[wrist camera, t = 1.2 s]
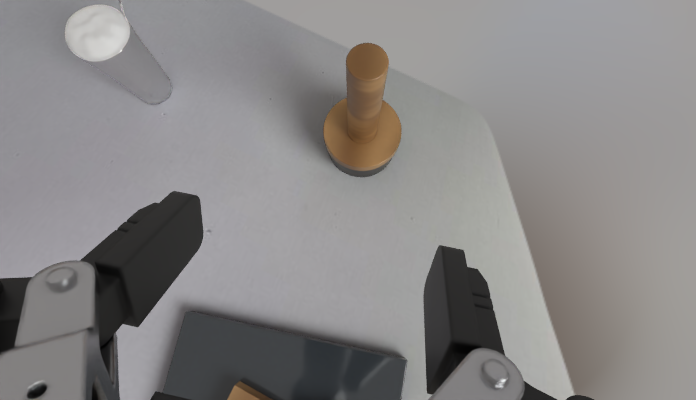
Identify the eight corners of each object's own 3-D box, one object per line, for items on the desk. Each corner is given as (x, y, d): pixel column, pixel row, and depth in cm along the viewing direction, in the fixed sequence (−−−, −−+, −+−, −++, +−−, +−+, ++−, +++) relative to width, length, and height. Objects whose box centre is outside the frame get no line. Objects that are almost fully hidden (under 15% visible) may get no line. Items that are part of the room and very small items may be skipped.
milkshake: (195, 88, 34) (134, 11, 25) (147, 120, 34) (64, 55, 24) (170, 54, 35) (101, -32, 25) (122, 85, 34) (32, 8, 25)
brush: (401, 120, 33) (432, 22, 21) (389, 185, 32) (414, 123, 19) (334, 107, 34) (324, 3, 21) (319, 171, 32) (298, 102, 20)
